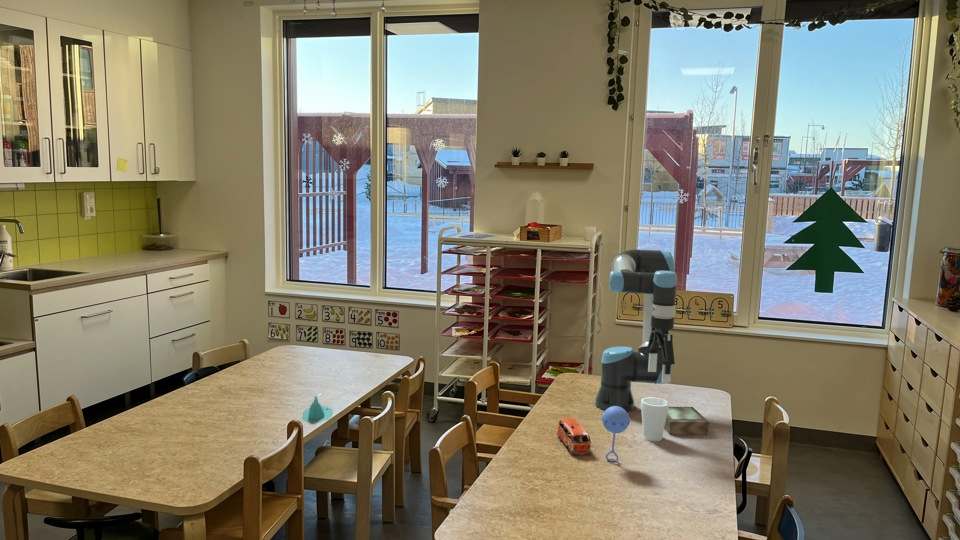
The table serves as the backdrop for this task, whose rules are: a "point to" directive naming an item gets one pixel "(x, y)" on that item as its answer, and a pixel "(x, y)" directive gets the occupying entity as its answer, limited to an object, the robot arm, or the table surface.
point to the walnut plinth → (685, 422)
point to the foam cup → (653, 417)
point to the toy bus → (574, 436)
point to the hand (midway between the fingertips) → (658, 377)
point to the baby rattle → (615, 423)
